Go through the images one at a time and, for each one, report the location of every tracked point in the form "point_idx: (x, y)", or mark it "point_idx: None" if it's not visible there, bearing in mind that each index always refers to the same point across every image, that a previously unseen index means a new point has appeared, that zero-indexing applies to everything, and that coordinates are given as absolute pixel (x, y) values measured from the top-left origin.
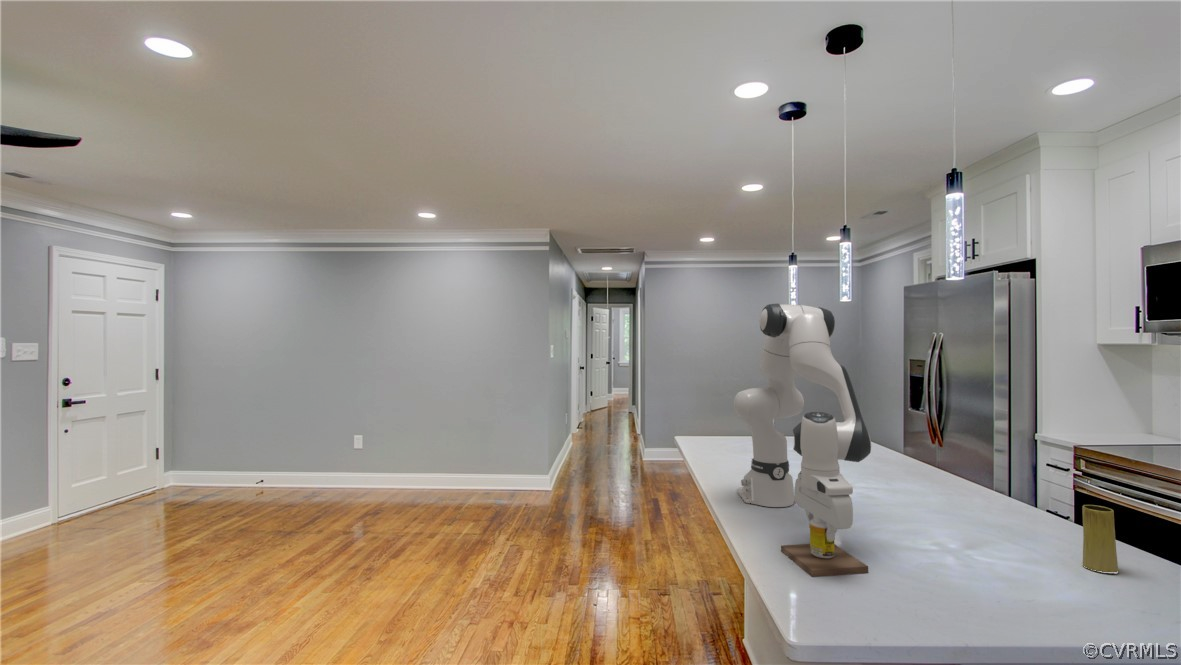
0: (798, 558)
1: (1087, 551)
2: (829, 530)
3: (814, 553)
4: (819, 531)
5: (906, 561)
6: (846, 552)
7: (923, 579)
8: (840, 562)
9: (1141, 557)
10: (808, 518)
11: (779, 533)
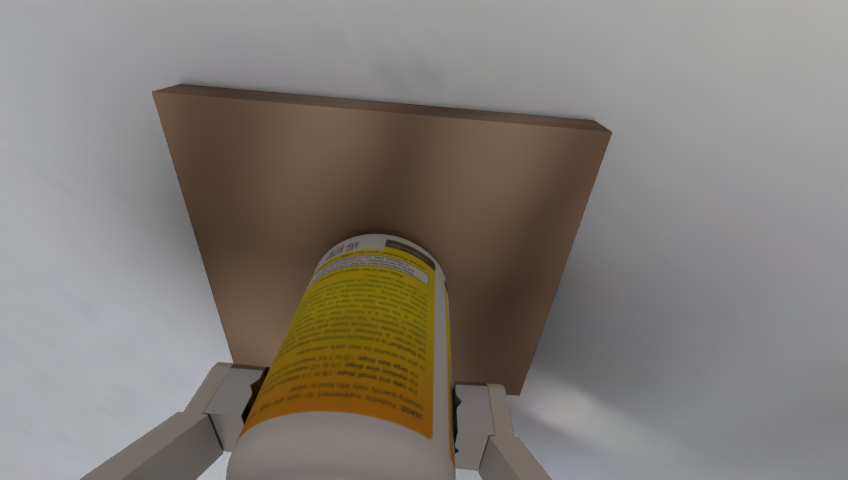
0: (359, 119)
1: None
2: (126, 451)
3: (354, 241)
4: (266, 390)
5: None
6: None
7: None
8: (281, 306)
9: None
10: (525, 469)
11: (817, 271)
